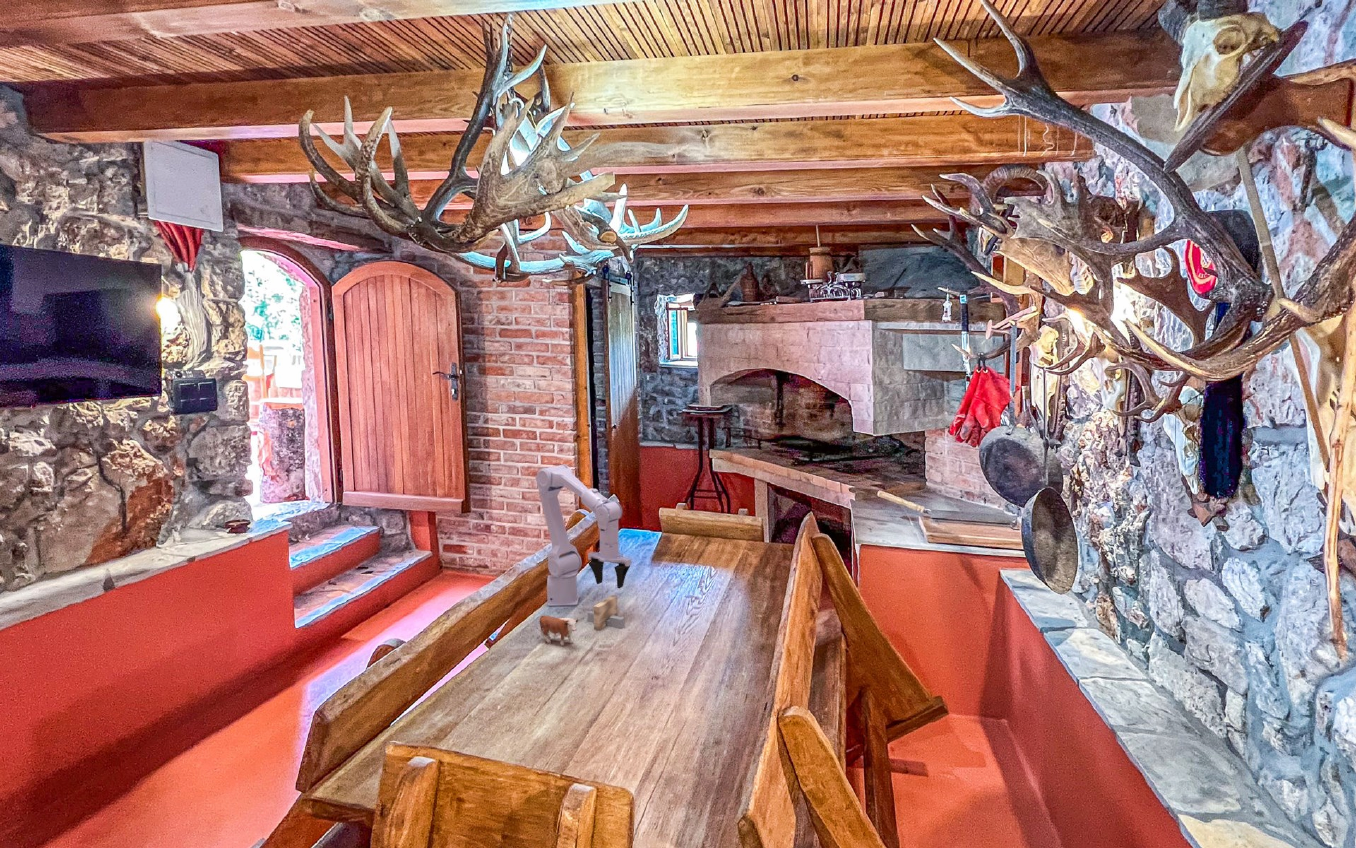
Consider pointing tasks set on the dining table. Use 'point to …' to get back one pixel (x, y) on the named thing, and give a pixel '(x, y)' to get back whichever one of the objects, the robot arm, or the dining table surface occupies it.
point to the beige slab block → (604, 611)
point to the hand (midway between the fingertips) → (609, 585)
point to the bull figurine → (557, 627)
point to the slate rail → (608, 620)
